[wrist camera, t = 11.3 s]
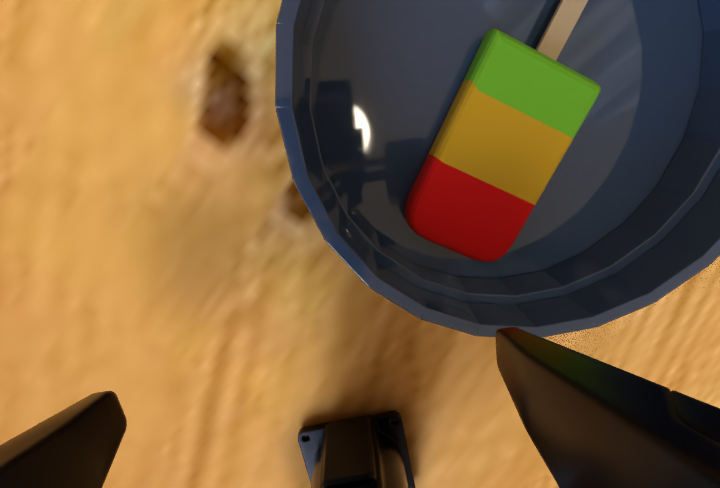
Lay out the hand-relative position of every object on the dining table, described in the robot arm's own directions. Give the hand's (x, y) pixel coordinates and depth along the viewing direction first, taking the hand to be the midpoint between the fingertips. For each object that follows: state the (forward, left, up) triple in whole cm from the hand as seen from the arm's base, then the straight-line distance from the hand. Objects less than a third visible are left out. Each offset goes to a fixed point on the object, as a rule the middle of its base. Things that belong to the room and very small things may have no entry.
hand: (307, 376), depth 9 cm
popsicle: (+5, -10, -11) cm, 16 cm away
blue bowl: (+5, -10, -12) cm, 16 cm away
